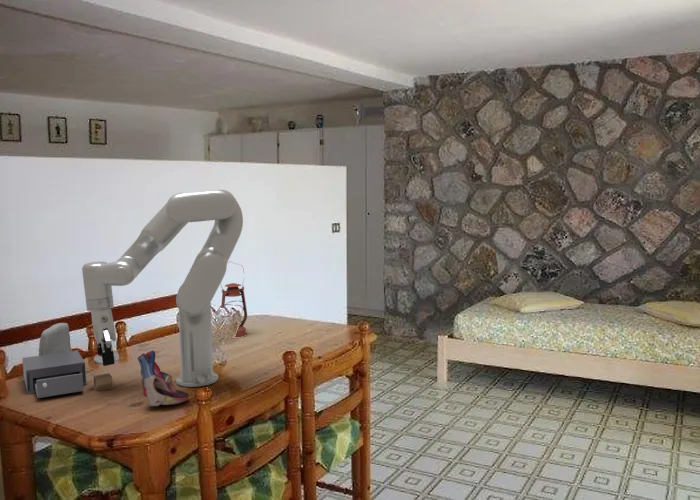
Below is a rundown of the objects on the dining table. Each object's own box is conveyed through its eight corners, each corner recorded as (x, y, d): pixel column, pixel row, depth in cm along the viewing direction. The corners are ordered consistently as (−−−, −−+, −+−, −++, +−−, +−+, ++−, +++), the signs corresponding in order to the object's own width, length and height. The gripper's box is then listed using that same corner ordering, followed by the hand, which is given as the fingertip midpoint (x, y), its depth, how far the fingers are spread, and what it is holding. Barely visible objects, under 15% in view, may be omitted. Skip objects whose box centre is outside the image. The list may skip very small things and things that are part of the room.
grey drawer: (83, 391, 186) (82, 374, 186) (37, 398, 180) (36, 381, 180) (76, 377, 200) (75, 361, 199) (33, 384, 194) (32, 367, 193)
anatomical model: (185, 410, 173) (183, 355, 171) (137, 411, 172) (134, 357, 170) (191, 398, 182) (188, 346, 181) (145, 400, 181) (143, 348, 180)
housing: (86, 384, 196) (84, 362, 195) (27, 393, 188) (26, 370, 187) (78, 371, 209) (77, 350, 209) (23, 379, 201) (22, 357, 201)
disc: (121, 360, 191) (120, 355, 190) (96, 365, 187) (95, 360, 187) (116, 355, 197) (116, 350, 196) (92, 360, 193) (91, 355, 193)
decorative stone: (45, 373, 208) (42, 328, 206) (34, 370, 211) (31, 326, 210) (75, 365, 217) (73, 321, 216) (64, 362, 220) (62, 319, 219)
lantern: (241, 339, 250) (238, 262, 247) (216, 338, 252) (213, 262, 249) (250, 333, 260) (247, 259, 256) (226, 332, 262) (223, 259, 258)
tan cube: (112, 388, 192) (112, 377, 191) (96, 391, 190) (96, 379, 189) (109, 384, 196) (109, 373, 195) (94, 386, 193) (93, 375, 193)
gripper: (118, 305, 184) (125, 365, 186) (107, 297, 199) (114, 353, 201) (91, 310, 181) (98, 371, 183) (82, 301, 195) (88, 358, 198)
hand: (106, 361), depth 192 cm, fingers closed on disc, 6 cm apart
